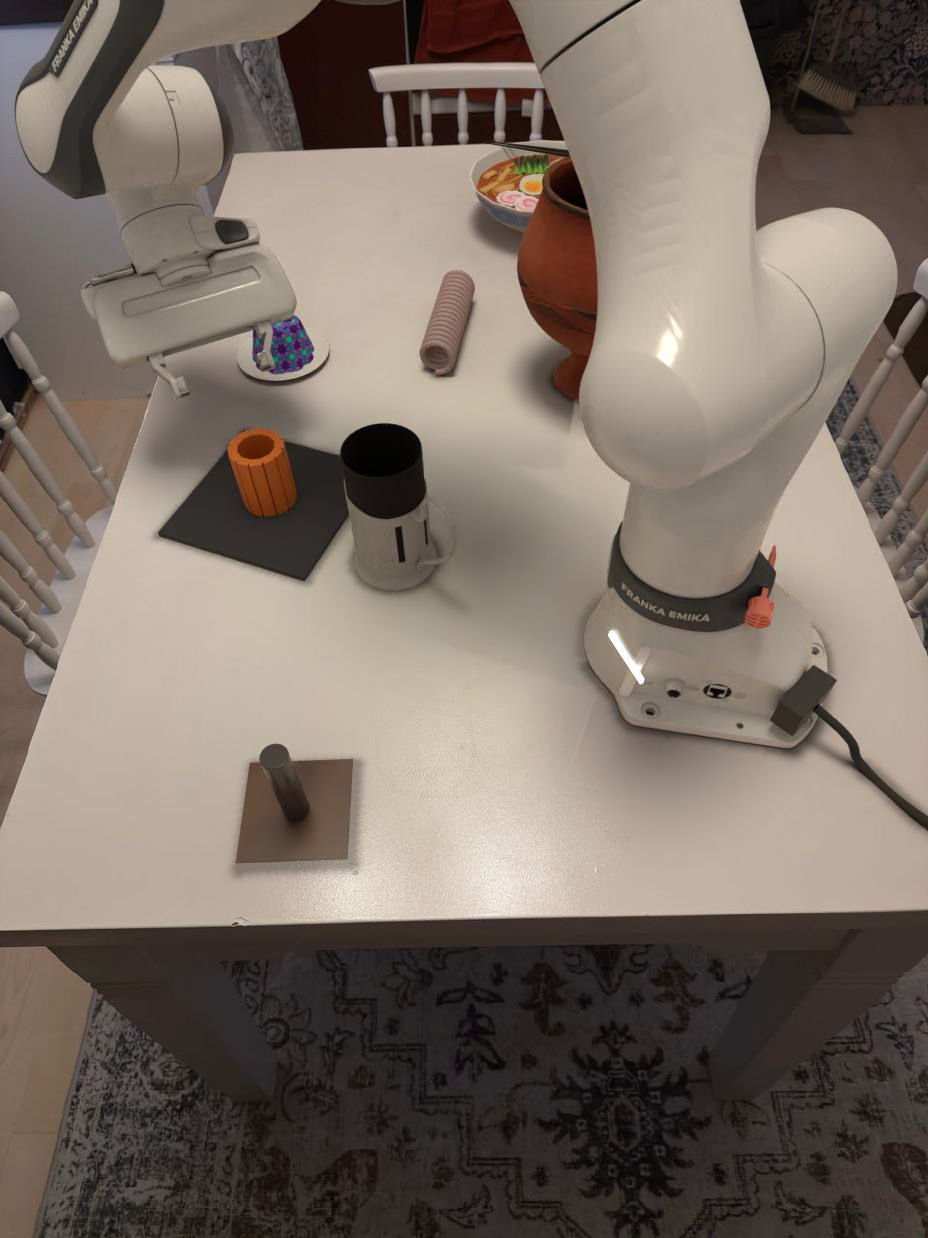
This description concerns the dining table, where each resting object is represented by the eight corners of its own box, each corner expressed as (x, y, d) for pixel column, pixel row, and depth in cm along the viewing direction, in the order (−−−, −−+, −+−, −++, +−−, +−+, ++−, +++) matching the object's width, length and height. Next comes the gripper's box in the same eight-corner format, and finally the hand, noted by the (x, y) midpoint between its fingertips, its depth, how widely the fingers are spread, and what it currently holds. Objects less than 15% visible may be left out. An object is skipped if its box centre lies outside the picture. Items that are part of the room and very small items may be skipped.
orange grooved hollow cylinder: (305, 487, 94) (293, 435, 88) (280, 522, 91) (265, 471, 85) (261, 474, 95) (246, 423, 89) (234, 508, 92) (217, 457, 86)
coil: (455, 348, 103) (477, 269, 113) (418, 341, 103) (444, 263, 113) (452, 379, 106) (474, 300, 117) (417, 373, 106) (442, 294, 117)
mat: (379, 468, 96) (378, 465, 96) (304, 581, 86) (303, 577, 86) (244, 432, 101) (243, 429, 100) (158, 535, 91) (157, 532, 90)
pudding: (322, 324, 114) (316, 288, 110) (336, 376, 107) (330, 340, 103) (234, 338, 112) (225, 303, 108) (242, 392, 105) (232, 356, 101)
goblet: (678, 429, 99) (726, 223, 79) (516, 432, 99) (524, 227, 80) (654, 334, 111) (691, 133, 91) (510, 337, 111) (515, 138, 91)
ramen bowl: (439, 244, 126) (436, 189, 119) (495, 176, 138) (495, 123, 132) (598, 276, 119) (605, 220, 113) (641, 202, 132) (649, 148, 126)
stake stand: (354, 765, 73) (337, 702, 65) (349, 864, 68) (329, 810, 60) (252, 768, 73) (222, 706, 65) (239, 868, 68) (204, 815, 60)
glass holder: (399, 516, 92) (386, 405, 80) (490, 587, 85) (490, 479, 73) (337, 558, 88) (313, 449, 76) (426, 636, 82) (415, 530, 70)
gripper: (68, 269, 81) (127, 408, 83) (269, 216, 86) (319, 348, 88) (76, 289, 87) (131, 418, 89) (264, 238, 92) (310, 361, 94)
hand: (226, 382), depth 89 cm, fingers open, 8 cm apart
